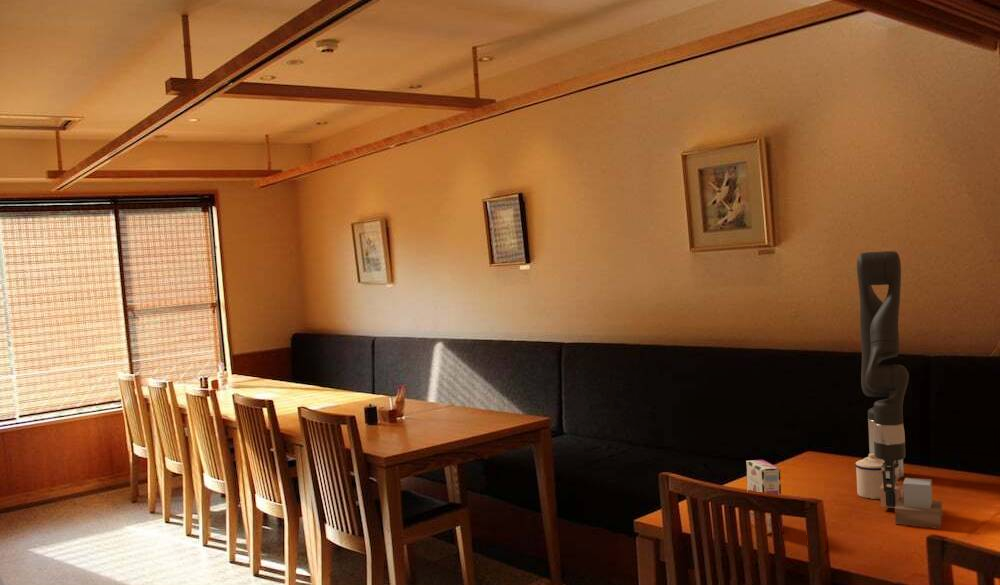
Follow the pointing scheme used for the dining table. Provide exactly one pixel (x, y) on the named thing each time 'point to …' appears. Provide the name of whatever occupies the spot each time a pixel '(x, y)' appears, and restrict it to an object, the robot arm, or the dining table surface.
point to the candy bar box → (763, 481)
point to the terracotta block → (897, 494)
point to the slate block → (917, 493)
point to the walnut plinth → (919, 515)
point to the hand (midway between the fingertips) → (891, 502)
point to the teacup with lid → (869, 477)
